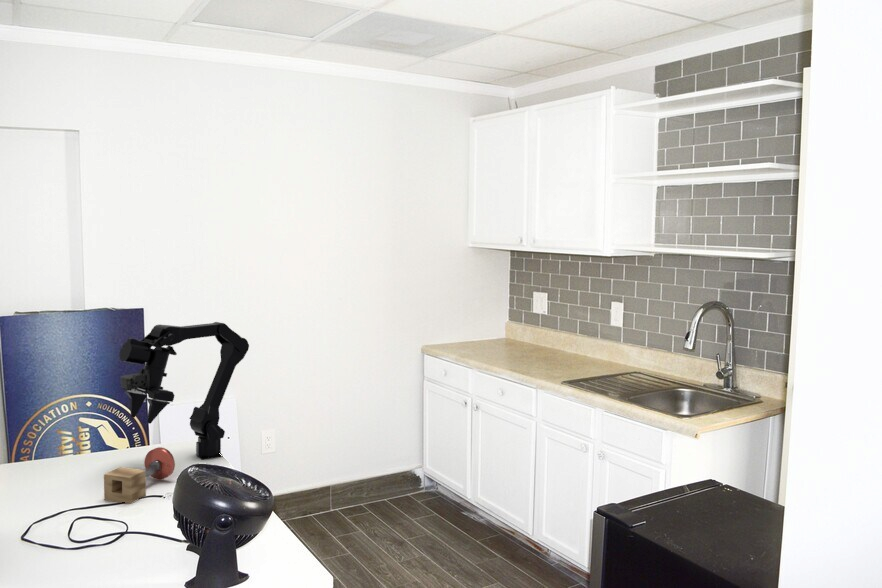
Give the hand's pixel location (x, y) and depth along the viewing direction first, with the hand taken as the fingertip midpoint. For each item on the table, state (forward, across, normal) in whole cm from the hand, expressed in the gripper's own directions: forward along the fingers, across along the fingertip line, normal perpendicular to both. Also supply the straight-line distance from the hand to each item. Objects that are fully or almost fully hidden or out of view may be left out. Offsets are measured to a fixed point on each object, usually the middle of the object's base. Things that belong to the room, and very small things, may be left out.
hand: (140, 420), depth 202 cm
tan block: (+18, +15, -7) cm, 25 cm away
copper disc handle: (+15, +12, +1) cm, 19 cm away
